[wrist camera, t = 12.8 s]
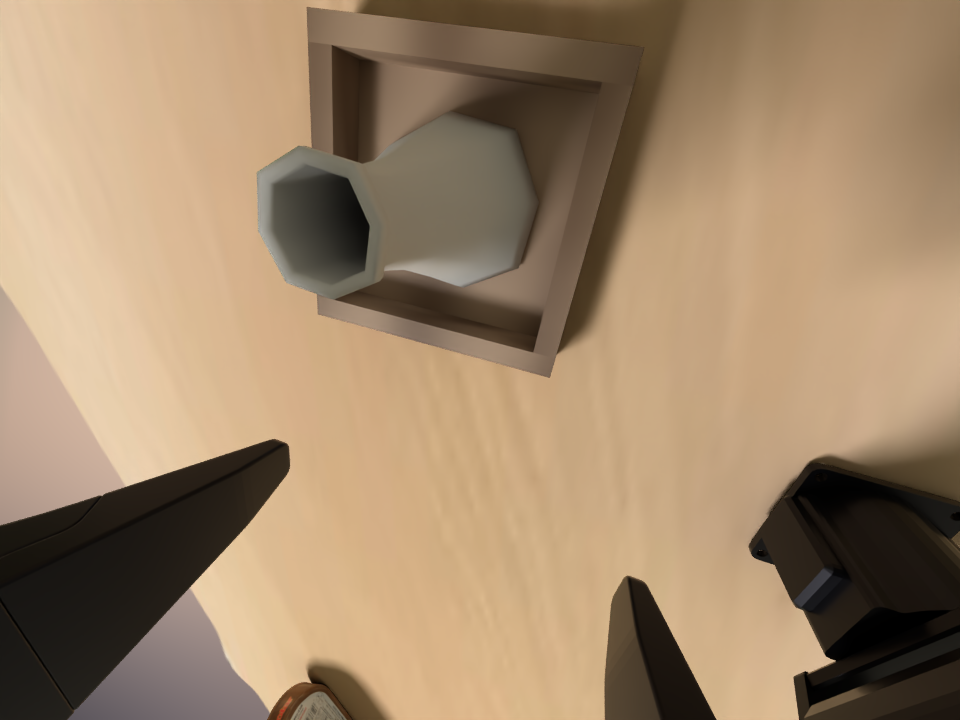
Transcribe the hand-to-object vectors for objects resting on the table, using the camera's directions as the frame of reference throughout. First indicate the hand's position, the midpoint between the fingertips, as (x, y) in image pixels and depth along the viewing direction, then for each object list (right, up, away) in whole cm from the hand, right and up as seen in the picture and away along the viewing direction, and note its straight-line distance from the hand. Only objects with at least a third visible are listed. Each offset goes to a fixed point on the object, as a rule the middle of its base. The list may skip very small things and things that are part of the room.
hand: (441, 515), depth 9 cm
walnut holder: (0, +11, +8) cm, 14 cm away
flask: (0, +11, +8) cm, 13 cm away
